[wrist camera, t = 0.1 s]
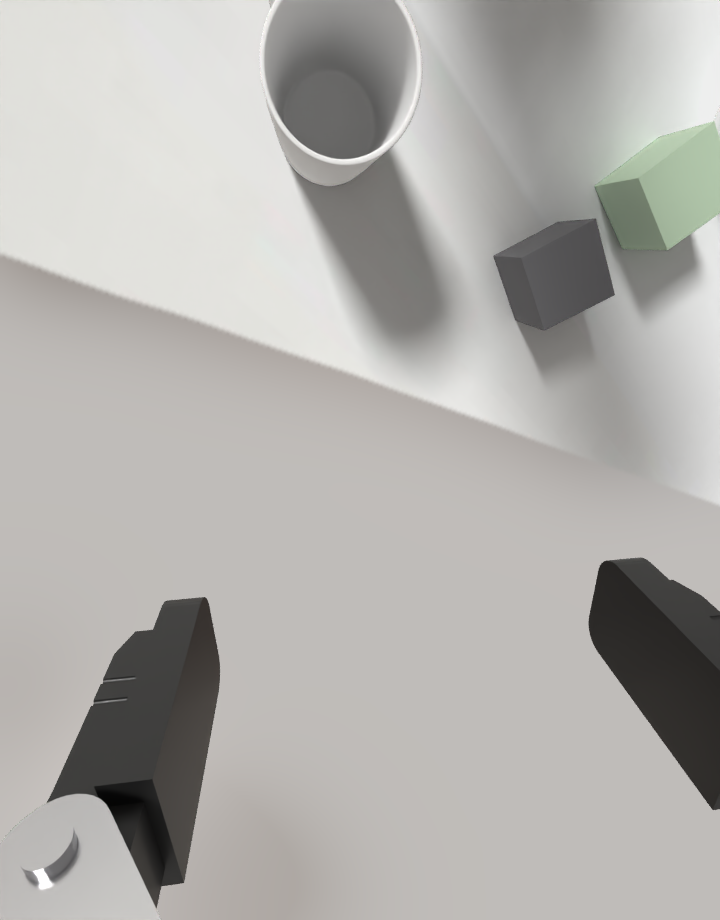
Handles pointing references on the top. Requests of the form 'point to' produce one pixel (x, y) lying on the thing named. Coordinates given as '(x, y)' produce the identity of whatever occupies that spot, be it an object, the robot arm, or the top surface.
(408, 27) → the mug
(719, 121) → the grey block
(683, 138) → the sage block
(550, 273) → the charcoal block
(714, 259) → the top surface
